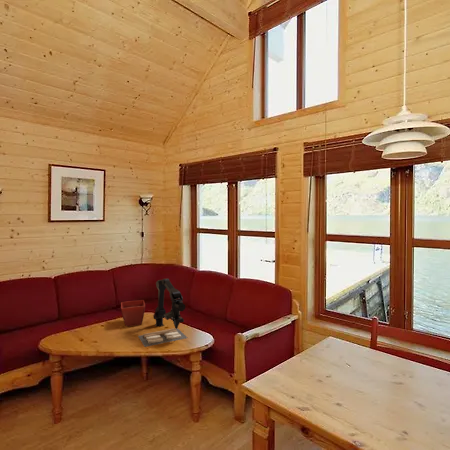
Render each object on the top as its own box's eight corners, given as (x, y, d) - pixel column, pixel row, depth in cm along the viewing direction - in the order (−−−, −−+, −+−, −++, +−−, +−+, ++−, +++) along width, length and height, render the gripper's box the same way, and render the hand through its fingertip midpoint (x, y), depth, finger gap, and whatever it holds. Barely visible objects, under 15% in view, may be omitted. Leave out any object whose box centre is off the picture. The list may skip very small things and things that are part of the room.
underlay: (137, 336, 246) (137, 336, 246) (178, 328, 261) (178, 328, 261) (144, 347, 226) (144, 346, 226) (187, 338, 241) (187, 337, 241)
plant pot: (121, 320, 281) (121, 301, 280) (144, 318, 287) (143, 299, 286) (121, 328, 263) (121, 308, 262) (145, 325, 269) (145, 305, 268)
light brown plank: (143, 336, 246) (143, 334, 246) (174, 330, 257) (174, 328, 257) (145, 338, 240) (144, 336, 240) (177, 332, 252) (177, 330, 252)
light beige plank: (146, 339, 240) (145, 337, 240) (159, 336, 244) (159, 334, 244) (149, 343, 231) (149, 341, 231) (163, 341, 235) (163, 339, 235)
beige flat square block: (164, 335, 246) (164, 333, 246) (176, 333, 251) (176, 331, 251) (168, 340, 237) (168, 338, 237) (181, 337, 242) (181, 335, 242)
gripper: (161, 306, 246) (162, 326, 247) (169, 313, 230) (169, 334, 231) (175, 304, 252) (176, 323, 252) (183, 310, 235) (184, 331, 236)
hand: (176, 328), depth 243 cm, fingers closed
